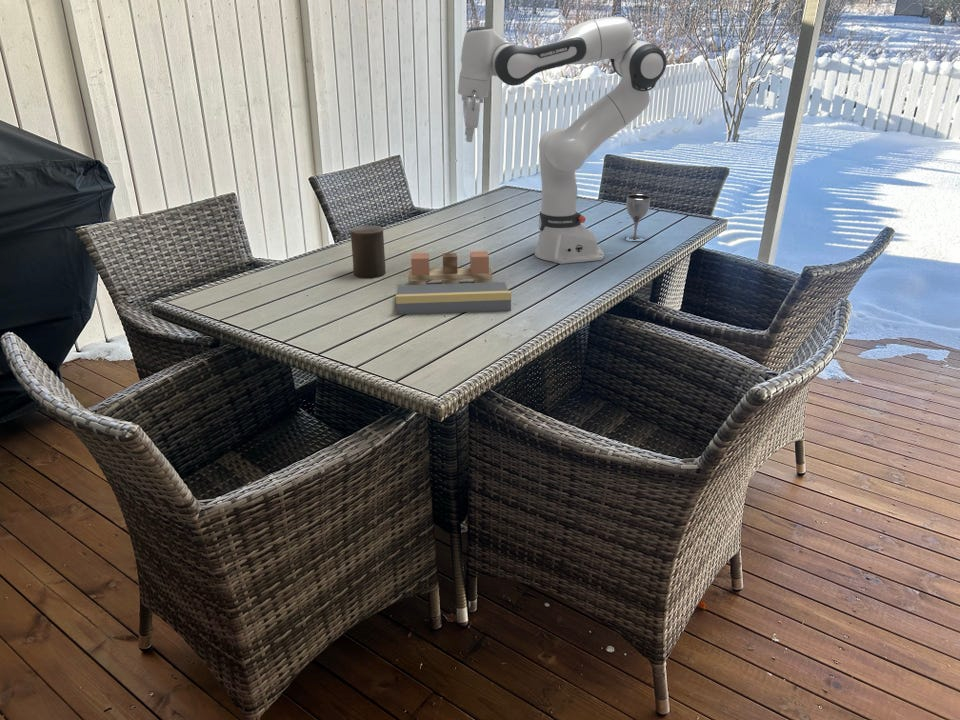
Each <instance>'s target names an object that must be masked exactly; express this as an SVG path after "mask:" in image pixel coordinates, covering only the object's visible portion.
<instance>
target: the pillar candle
mask: <svg viewBox="0 0 960 720" xmlns="http://www.w3.org/2000/svg"><path fill="white" fill-rule="evenodd" d="M350 239H351V240H350V241H351V251H352V252H351V253H352V265H353V266H352V269H353V270H352V271H353V274H354V276H355V277H357V278H361V279H362V278H363V279H364V278H365V279H375V278H379V277H382V276H385V274H386V253H385V239H384V228H383V227H381V226H379V225H359V226H358V225H357V226H354V227H352V228H351V229H350Z"/></svg>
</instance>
